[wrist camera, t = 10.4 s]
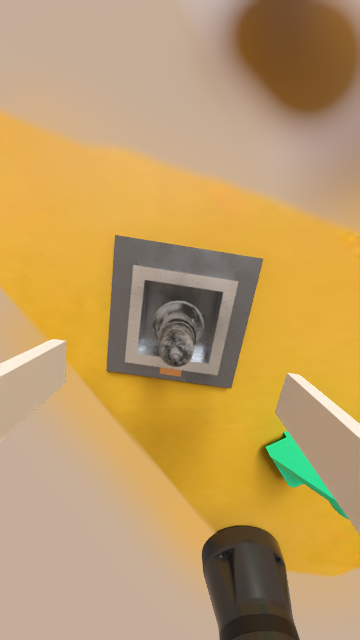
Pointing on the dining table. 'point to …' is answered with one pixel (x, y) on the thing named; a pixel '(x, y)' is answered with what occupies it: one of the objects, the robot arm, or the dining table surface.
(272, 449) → the camera mount
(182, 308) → the gray metallic stepped cylinder
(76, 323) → the dining table surface
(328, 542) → the dining table surface
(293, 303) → the dining table surface
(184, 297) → the plate
